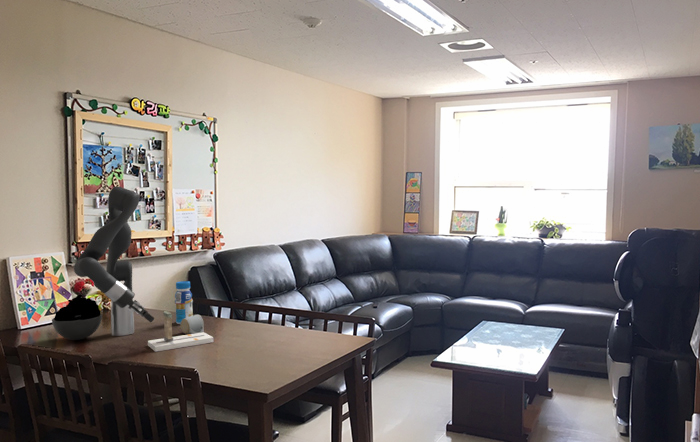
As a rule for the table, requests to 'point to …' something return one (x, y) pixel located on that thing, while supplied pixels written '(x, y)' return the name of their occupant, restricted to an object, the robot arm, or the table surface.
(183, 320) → the ceramic mug
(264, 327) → the table surface
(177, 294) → the beverage bottle
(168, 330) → the fader tab
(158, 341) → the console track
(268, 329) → the table surface
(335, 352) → the table surface
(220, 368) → the table surface
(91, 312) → the bowl of black rocks
